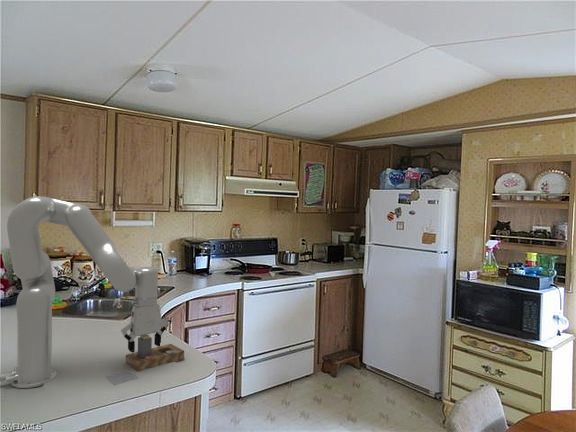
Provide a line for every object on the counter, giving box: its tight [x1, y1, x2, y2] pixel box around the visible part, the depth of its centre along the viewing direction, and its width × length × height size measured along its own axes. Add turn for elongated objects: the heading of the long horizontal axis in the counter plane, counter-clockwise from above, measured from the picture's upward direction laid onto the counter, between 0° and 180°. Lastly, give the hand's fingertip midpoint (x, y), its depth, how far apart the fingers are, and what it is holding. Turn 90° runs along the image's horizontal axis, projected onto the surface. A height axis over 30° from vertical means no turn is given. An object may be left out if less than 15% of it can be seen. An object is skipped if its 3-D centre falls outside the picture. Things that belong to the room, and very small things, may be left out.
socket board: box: [124, 343, 185, 372], centre depth 148 cm, size 18×10×4 cm, turn 135°
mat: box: [104, 370, 139, 386], centre depth 133 cm, size 8×8×1 cm
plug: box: [137, 334, 153, 359], centre depth 145 cm, size 4×4×11 cm
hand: (144, 348), depth 145 cm, fingers open, 9 cm apart
